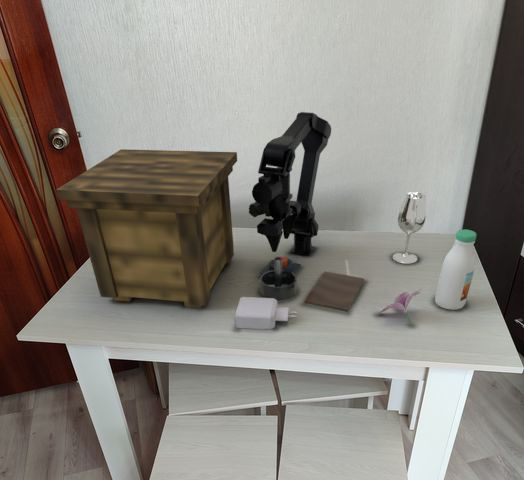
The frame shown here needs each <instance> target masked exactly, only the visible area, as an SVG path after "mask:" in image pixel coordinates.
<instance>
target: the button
mask: <svg viewBox="0 0 524 480" xmlns="http://www.w3.org/2000/svg"><path fill="white" fill-rule="evenodd" d="M277 257H281V258H282V267H284V266H287V265H288V259H289V258H288V257H286V256H284V255H280V256H279V255H278V256H277Z"/></svg>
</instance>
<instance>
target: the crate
mask: <svg viewBox="0 0 524 480" xmlns="http://www.w3.org/2000/svg"><path fill="white" fill-rule="evenodd" d="M237 162H238V152H237V151H202V150H195V151H194V150H164V149H163V150H161V149H124V148H123V149H122V148H121V149H119V150H117V151H116V152H114V153H113V154H111V155H109V156H108V157H106V158H105V159H103V160H101V161H100V162H98V163H96V164H95V165H93V166H92V167H90V168H88V169H87V170H85V171H83V172H82V173H80V174H79V175H78V176H76V177H74V178H72V179H71V180H69V181H68V182H66V183H64V184H63V185H61V186H59V187H58V188H56V189H55V191H56V194H57V198H58V200H60V201H62V200H63V201H66V203H67V207H68V208H69V209H70V208H72V209H75V210H76V212H77V213H76V214H77V216H78V220H79V222H80V227H81V231H82V234H83V237H84V242H85V246H86V249H87V253H88V255H89V260H90V263H91V266H92V270H93V273H94V278H95V281H96V285H97V288H98V292H99V295H100V297H101V298H110V299H111V298H112V299H113V301H118V302H131V301H132V299H134V298H139V299H151V300H162V301H173V302H174V301H175V302H183V305H184V307H187V308H198V309H199V308H200V309H201V308H202V307H204V306H207V304H208V302H209V300H210V298H211V290H212V288H213V286H214V284H215V283H216V281H217V279H218V277H219V276H220V273H221V272H222V270H223V268H224V267H225V265H226V263H229V262H232V260H233V258H234V256H235V250H234V249H235V248H234V235H233V223H232V208H231V197H230V181H229V176H230V175H231V174H232V172H233V171H234V168H233V167H234V165H236V163H237Z"/></svg>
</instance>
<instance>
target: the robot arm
mask: <svg viewBox="0 0 524 480" xmlns="http://www.w3.org/2000/svg"><path fill="white" fill-rule="evenodd" d="M331 135H332V126H331V124H330V123H329V121H327V120H326V119H324V118H322V117H320V116H318V114H316V113H314V112H307V111H300V112H298V113H297V114H296V117H295V119H294V120H293V121H292V123H291V124H290V125H289V126H288V128H287V129H286V130H285V132H283V133H282V135H281V136H279V137H276V138H273V139H271V140H270V141H268V142H267V143H266V145H265V146H264V148H263V151H262V155H261V159H260V163H259V166H258V170H257V173H258V174H260V175H261V176H259V177H258V180H257V181H258V182H257V183H255V184H254V185H253V187H252V190H251V195H252V198H253V200H254V202H252V203H250V204H249V206H248V210H249V211H248V214H249V215H250V216H251V217H253V218H258V217H259V216H262V215H264V216H265V218H263V219H262V220H261V221H260V222H259V223H258V224H257V225H256V233H257V234H260V235H262V236H265V238H266V239H267V242H268V244H269V247H270V249H271V252H272V253H276V252H277V251H278V248H279V246H280V243H281V240H282V237H283V239H284V240H288V239H289V237H290V235H293V247H292V248H291V250H290V251H289V253H290V254H293V255H294V254H295V255H299V256H300V255H301V256H305V257H308V256H310V255H311V254H312V252H313V251H314V250H315V248H316V247H315V246H313V245H312V238H314V237H317V236H318V232H319V224H318V222H317V220H316V219H315V218H316V212H315V210H314V207H313V197H314V192H315V185H316V180H317V176H318V175H317V174H318V168H319V162H320V156H321V153H322V152H323V151H324V150H325V149H326V147H327V146H328V143H329V139H330V137H331ZM299 145H302V148H303V151H304V152H303V157H302V164H301V170H300V176H299V182H298V188H297V195H296V200H292V199H293V193H291V172H292V171H293V165H294V162H295V159H296V150H297V149H298V147H299ZM266 217H268V218H266ZM270 217H271V218H270Z"/></svg>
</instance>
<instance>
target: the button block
mask: <svg viewBox="0 0 524 480" xmlns="http://www.w3.org/2000/svg"><path fill="white" fill-rule="evenodd" d="M287 259H288V265H287V266H284V267H282V270H286V271H289V272H292V273H293V274H295V273H296V272H297V271H298V270H299V268H301V263H300V262H299V263H298V262H293V260H291V259H290V258H287ZM272 270H274V258H273V259H271V260H270V261H269V263H268V265H267V266H266V267H265V268H264V269H263V270H262V272H261V273H260V276H262V275H263V274H264V273H266V272H268V271H272Z"/></svg>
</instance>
